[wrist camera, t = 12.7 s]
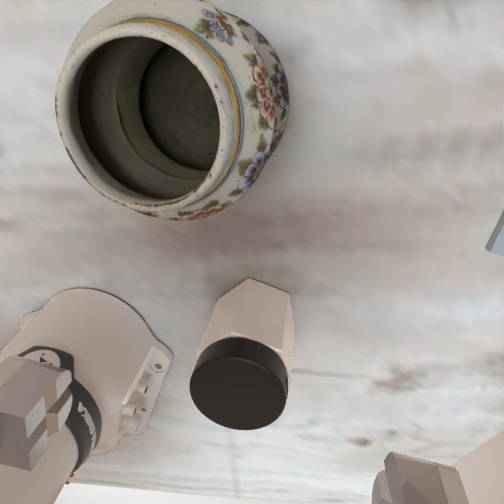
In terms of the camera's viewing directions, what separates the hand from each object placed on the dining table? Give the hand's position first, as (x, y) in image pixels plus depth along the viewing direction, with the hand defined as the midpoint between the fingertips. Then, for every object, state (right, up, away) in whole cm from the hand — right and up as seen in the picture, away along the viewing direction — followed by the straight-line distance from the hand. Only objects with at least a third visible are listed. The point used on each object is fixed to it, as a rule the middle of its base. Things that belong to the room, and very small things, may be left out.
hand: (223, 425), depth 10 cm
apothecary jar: (-2, +18, +25) cm, 30 cm away
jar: (+1, -2, +34) cm, 34 cm away
